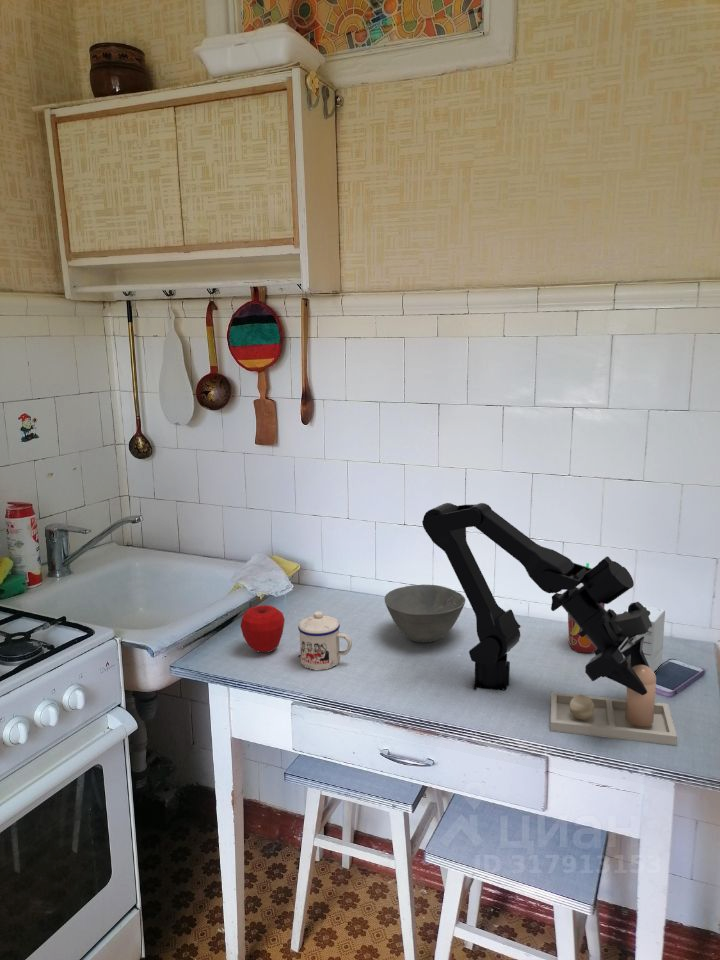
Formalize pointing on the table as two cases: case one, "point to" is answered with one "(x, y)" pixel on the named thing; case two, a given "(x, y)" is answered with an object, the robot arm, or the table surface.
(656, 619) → the supplement box
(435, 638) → the bowl
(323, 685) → the table surface
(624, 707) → the pulp tray
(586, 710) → the beige lumpy ball
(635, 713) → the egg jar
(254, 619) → the apple
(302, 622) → the teacup with lid
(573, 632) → the smoothie
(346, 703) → the table surface
